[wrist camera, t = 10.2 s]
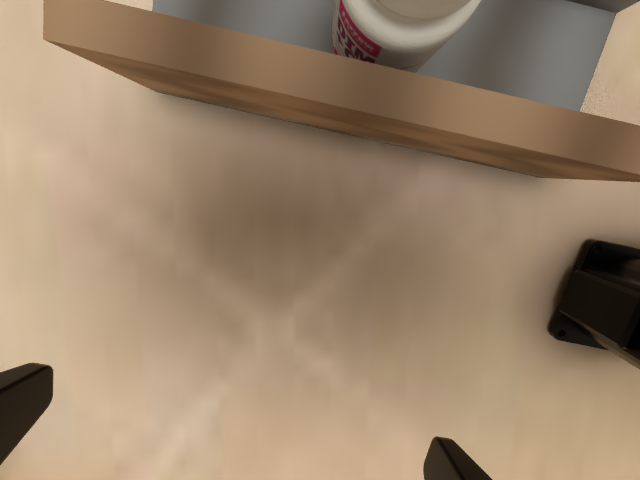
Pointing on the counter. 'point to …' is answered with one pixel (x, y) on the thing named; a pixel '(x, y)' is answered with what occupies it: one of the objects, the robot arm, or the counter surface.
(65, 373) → the counter surface
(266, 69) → the cleat board
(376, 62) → the pill bottle
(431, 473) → the robot arm
